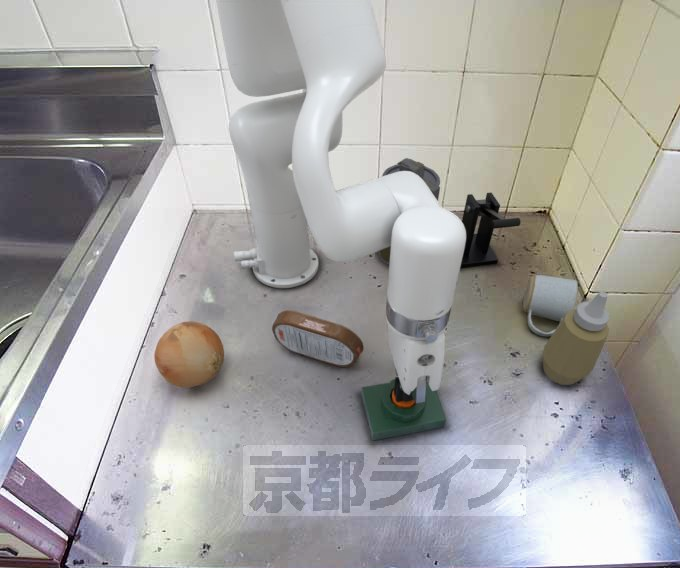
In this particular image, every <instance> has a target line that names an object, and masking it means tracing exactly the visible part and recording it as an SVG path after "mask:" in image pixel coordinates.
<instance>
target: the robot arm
mask: <svg viewBox="0 0 680 568" xmlns="http://www.w3.org/2000/svg"><path fill="white" fill-rule="evenodd" d="M215 2H216V8H217V13H218V19H219V24H220V29H221V34H222V40H223V46H224V51H225V57H226V61H227V65H228V71H229V74H230V77H231V79H232V82H233V84H234V86H235V87H236V89H237V90H238V91H239V92H241V94H242V95H245V96H248V97H255V98H260V97H268V96H275V95H280V94H287V93H290V92H295V91H300V90H303V92H298V93H294V94H290V95H284V96H278V97H273V98H269V99H264V100H260V101H255V102H251V103H248V104H246V105H244V106H241V107H239V108H238V109H237V110H235V112H234V113H233V114H232V115H231V116H230V119H229V122H228V131H229V137H230V140H231V144H232V147H233V149H234V152H235V155H236V157H237V160H238V163H239V166H240V169H241V172H242V176H243V179H244V184H245V188H246V194H247V199H248V205H249V209H250V210H249V211H250V215H251V221H252V227H253V231H254V236H255V247H251V248H250V250H237V251H233V258H234V262H235V263H236V262H240V264H241V268H242V269H248V268H252V270H253V271H252V272H253V274H254V276H255V278H256V279H257V280H258V281H259V282H261V283H262V284H263V285H266V286H269V287H271V288H275V289H290V288H295V287H299V286H302V285H304V284H307V282H310V280H312V279H313V278H314V277H315V276H316V274H317V272H318V271H319V258H318V254H316V252H315V251H314V250H313V249H312V248H310V239H309V231H310V233H311V235H312V237H313V240H314V242H315V244H316V245H317V247H318V249H319V250H320V251H321V253H322V254H323V255H324V256H325V257H326V258H327V259H329V260H331V261H332V262H335V263H349V262H353V261H356V260H360V259H362V258H364V257H367V256H369V255H371V254H372V255H373V254H374V253H377V252H378V251H379V250H382V249H384V248H387V247H389V246H391V250H390V264H389V265H388V276H387V277H388V278H387V291H386V303H385V304H386V305H385V320H386V322H387V325H388V326H387V327H388V328H387V342H388V347H389V351H390V354H391V358H392V360H393V364H394V367H395V370H394V371H395V375H396V377H394V379H395V384H394V395H395V396H396V397H395V399H396V402H401V401H404V402H408V401H412V400H413V399H414V402H415V403H421V402H425V390H426V382H428V381H429V382H428V384H429V386H430V388H431V390H432V391H435V390H436V391H439V389H440V386H441V383H442V379H443V371H444V366H445V365H444V364H445V354H446V335H445V331H446V329H447V327H448V324H449V322H450V321H449V320H450V316H451V312H452V311H451V310H452V306H453V302H454V299H455V293H456V289H457V284H458V279H459V276H460V270H461V268H460V266H461V262H462V257H463V253H464V249H465V243H466V230H465V227H464V224H463V223H462V219H461V218H460V217H458V215H456V214H455V213H454V212H452V211H450V210H449V209H446V208H444V207H443V206H442V205H441V203H440V202H439V200H438V201H437V199H436V198H435V196H434V195H433V193H432V192H431V190H430V189H429V187H428V186H427V185H426V183H425V182H424V181H423V180H422V178H420V177H419V176H418V175H417V174H415V173H413V172H410V171H399V172H395V173H392V174H389V175H385V176H382V175H381V176H379V177H377V178H373V179H368V180H365V181H362V182H360V183H359V182H358V183H356V184H353V185H349V186H347V187H344V188H341V189H336V188H335V187H336V186H335V184H334V181H333V178H332V175H331V174H332V173H331V168H330V160H329V159H330V158H329V153H330V152H332V151H334V150H335V149H337V147H338V146H339V145H340V142H341V140H342V135H343V111H344V110H345V109H346V107H348V105H350V104H351V103H352V102H353V101H354V100H355V99H356V98H357V97H358V96H360V95H361V94H362V93H364V92H365V91H366V90H368V89H369V88H370V87H372V86H373V85H375V83H376V82H377V81H378V80H379V79H380V78H381V77H382V76H383V74H384V72H385V71H386V67H387V59H386V53H385V51H384V46H383V42H382V39H381V34H380V32H379V28H378V24H377V19H376V15H375V12H374V8H373V4H372V0H215ZM290 165H291V168H292V169H291V168H290V167H289V166H290Z"/></svg>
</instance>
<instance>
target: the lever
mask: <svg viewBox="0 0 680 568" xmlns="http://www.w3.org/2000/svg"><path fill="white" fill-rule="evenodd" d="M485 199H486V198H485ZM485 199H476V201H477V203H478V204H479V206H480V211H479V215H478V217H481V216H488V217H489V218H491V219H492V221H491V228H492V229H494V230H496V229H504V228H512V227H513V228H515V227H519V226H521V222H522V221H521V218H520V217H513V218H511V217H510V218H506V217H504V216H503V215H502V214H500V213H499V212H498V213H496V212H495V211H493V210H492V209H490V204H491V203H490V202H488V201H486V200H485Z"/></svg>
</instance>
